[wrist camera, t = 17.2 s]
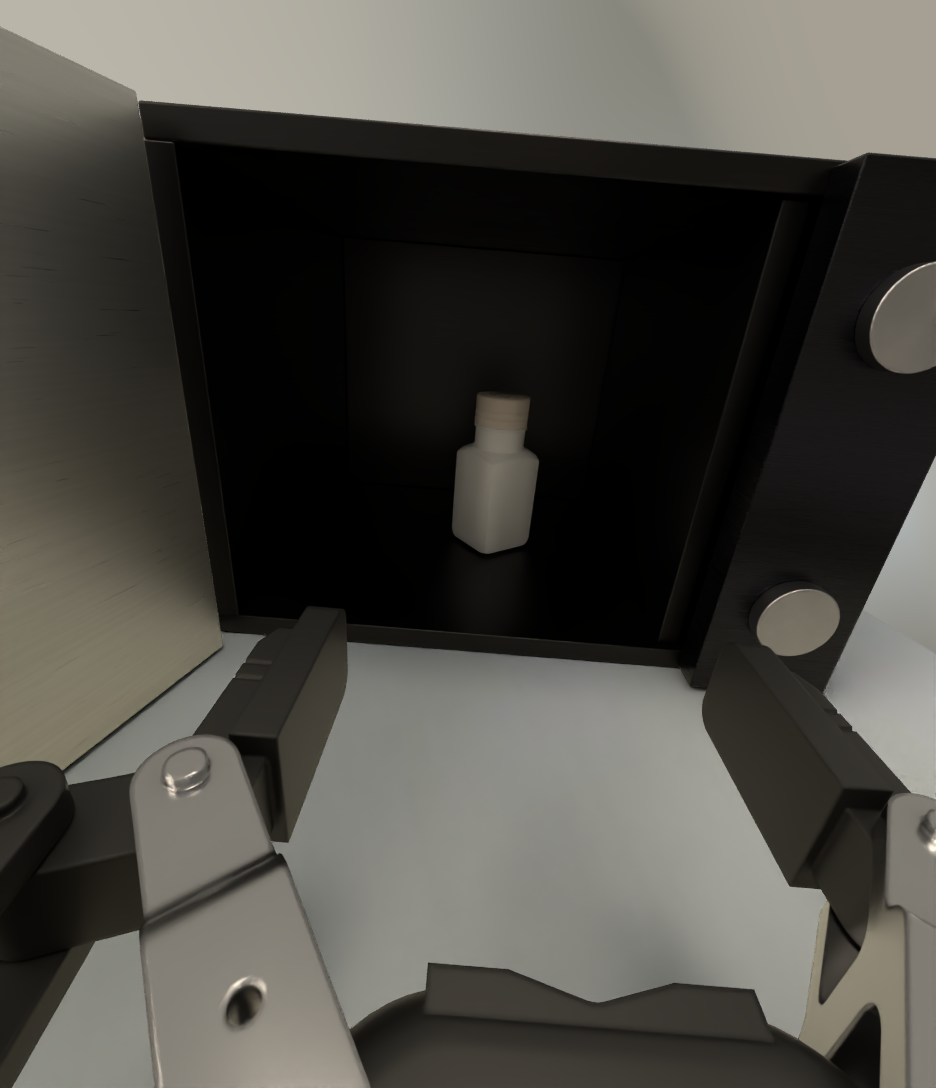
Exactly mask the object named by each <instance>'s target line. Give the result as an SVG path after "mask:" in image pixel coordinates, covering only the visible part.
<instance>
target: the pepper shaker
mask: <svg viewBox="0 0 936 1088" xmlns="http://www.w3.org/2000/svg"><path fill="white" fill-rule="evenodd" d="M529 405H530V397H528V396H526V395H523V394H517V393H511V392H501V391H483V392H479V393H478V394H477V400H476V407H477V408H476V412H475V414H476V416H475V426H476V432H475V442H474V443H471V444H468V445H465V446H463V447H462V448H460V449H459V450H458V451H457V458H456V473H455V488H454V502H453V517H452V531H453V534H454V535H455V536H456V537H457V538H459V539H460V540H462V541H463V542H465V543H466V544H468V545H469V546H471V547H472V548H474V549H476V550H477V551H479V552H480V553H485V554H490V553H494V552H498V551H502V550H506V549H510V548H514V547H518V546H522V545H524V544H525V543H526V542H527V540H528V537H529V530H530V523H531V516H532V509H533V501H534V494H535V487H536V480H537V473H538V466H539V460H538V458H537V456H536V455H535V454H534V453H532V452H531V451H529V450H528V449H526V448H524V438H525V431H526V430H527V421H528V413H529V412H528V411H529Z"/></svg>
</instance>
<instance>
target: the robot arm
mask: <svg viewBox="0 0 936 1088" xmlns="http://www.w3.org/2000/svg"><path fill="white" fill-rule="evenodd" d="M347 672H348V663H347V627H346V613H345V610H344V609H338V608H326V607H315V606H308V607H307V608H306V609H305V610H304V612H303V613H302V615H301V617H300V618H299V620H298V621H297V623H296V625H295V626H294V628H293V629H289V628H278V629H276V630H275V631H273V632H272V633H270V634H269V635H267V636H266V637H265V638H263V639H262V640H260V641H259V642H258V643H257V644H256V646H255V647H254V649H253V650H252V652H251V653H250V654H249V656H248V657H247V659H246V663H243V664H242V666H241V667H240V669H239V670H238V672H237V673H236V676H235V678H233V679H232V680H231V681H230V683H229V684H228V686H227V687H226V689H225V690H224V691H223V693H222V694H221V696H220V697H219V699H218V700H217V701H216V703H215V704H214V706H213V707H212V709H211V710H210V711H209V713H208V714H207V716H206V717H205V719H204V720H203V721H202V723H201V724H200V726H199V727H198V729H197V730H196V731H195V733H194V734H193V736H190V737H186V738H183V739H179V740H177V741H174V742H172V743H170V744H168V745H166V746H164V747H162V748H161V749H159V750H158V751H156V752H155V753H153V754H152V755H151V756H150V757H148V758H147V759H146V760H145V761H144V762H143V763H142V764H141V765H140V767H139V768H138V769H137V771H136V772H135V773H131V774H127V775H122V776H116V777H111V778H105V779H100V780H94V781H88V782H83V783H77V784H72V785H68V784H67V781H66V778H65V776H64V773H63V771H62V770H61V769H60V767H58V766H57V765H55V764H53V763H50V762H47V761H25V762H18V763H14V764H10V765H6V766H3V767H0V1088H12V1087H13V1085H14V1083H15V1081H16V1080H17V1078H18V1076H19V1074H20V1073H21V1071H22V1069H23V1067H24V1066H25V1064H26V1062H27V1060H28V1059H29V1057H30V1055H31V1053H32V1052H33V1050H34V1048H35V1046H36V1045H37V1043H38V1041H39V1039H40V1037H41V1036H42V1034H43V1032H44V1030H45V1029H46V1027H47V1025H48V1023H49V1022H50V1020H51V1018H52V1016H53V1015H54V1013H55V1011H56V1009H57V1008H58V1006H59V1004H60V1002H61V1001H62V999H63V997H64V995H65V994H66V992H67V990H68V988H69V987H70V985H71V983H72V981H73V980H74V978H75V976H76V974H77V973H78V971H79V969H80V967H81V966H82V964H83V962H84V960H85V959H86V957H87V955H88V953H89V952H90V950H91V948H92V946H93V945H94V943H95V941H99V940H103V939H107V938H110V937H114V936H118V935H122V934H125V933H129V932H133V931H137V930H139V939H140V952H141V962H142V972H143V981H144V991H145V1000H146V1010H147V1019H148V1029H149V1038H150V1048H151V1057H152V1067H153V1076H154V1086H155V1088H936V800H935V799H933V798H930V797H927V796H923V795H919V794H913V793H911V792H910V791H909V790H908V789H907V788H906V787H905V786H904V785H903V783H902V782H901V781H900V780H899V779H898V778H897V777H896V776H895V774H894V773H893V772H892V771H891V770H890V769H889V768H888V767H887V766H886V764H885V763H884V762H883V761H882V760H881V759H880V758H879V757H878V755H877V754H876V753H875V752H874V751H873V750H872V749H871V748H870V746H869V745H868V744H867V743H866V742H865V741H864V740H863V739H862V738H861V736H860V735H859V734H858V733H857V732H855V731H852V726H851V725H850V724H849V723H848V722H847V721H846V720H845V719H844V717H843V716H842V715H841V714H837V710H836V708H835V707H834V706H833V705H832V704H831V703H830V702H829V701H828V700H827V698H826V697H825V696H824V695H823V694H822V693H821V692H820V691H819V690H818V689H817V688H815V687H814V686H813V685H811V684H810V683H808V682H807V681H806V680H804V679H803V678H801V677H800V676H799V675H797V674H796V673H794V672H791V671H790V670H789V669H788V668H787V667H786V665H785V664H784V663H783V662H782V661H781V660H780V658H779V657H778V656H777V655H776V654H775V653H774V651H773V650H772V649H771V648H769V647H768V646H765V645H754V644H742V643H726V644H725V645H724V646H723V647H722V649H721V651H720V653H719V656H718V659H717V662H716V665H715V667H714V670H713V673H712V676H711V679H710V682H709V685H708V687H707V690H706V693H705V696H704V699H703V704H702V717H703V722H704V726H705V728H706V731H707V733H708V735H709V736H710V738H711V740H712V742H713V744H714V746H715V748H716V750H717V751H718V753H719V755H720V757H721V759H722V761H723V763H724V764H725V766H726V768H727V770H728V772H729V774H730V776H731V778H732V779H733V781H734V783H735V785H736V787H737V789H738V791H739V793H740V794H741V796H742V798H743V800H744V802H745V804H746V806H747V808H748V809H749V811H750V813H751V815H752V817H753V819H754V821H755V823H756V824H757V826H758V828H759V830H760V832H761V834H762V836H763V838H764V839H765V841H766V843H767V845H768V847H769V849H770V851H771V853H772V854H773V856H774V858H775V860H776V862H777V864H778V866H779V868H780V869H781V871H782V873H783V875H784V877H785V879H786V881H787V883H788V884H789V886H790V887H801V888H813V889H821V890H822V892H823V894H824V895H825V897H826V899H827V902H826V903H825V905H824V907H823V908H822V910H821V913H820V917H819V924H818V931H817V938H816V945H815V952H814V959H813V966H812V973H811V980H810V987H809V994H808V1001H807V1008H806V1014H805V1018H804V1022H803V1026H802V1029H801V1032H800V1035H799V1037H798V1039H797V1038H795V1037H793V1036H791V1035H790V1034H788V1033H786V1032H784V1031H782V1030H780V1029H778V1028H776V1027H774V1026H772V1025H770V1024H768V1023H767V1021H766V1018H765V1016H764V1013H763V1011H762V1008H761V1006H760V1003H759V1001H758V998H757V996H756V993H755V991H754V990H753V989H740V988H728V987H716V986H704V985H692V984H680V983H672V984H669V985H665V986H661V987H658V988H654V989H650V990H646V991H643V992H639V993H635V994H631V995H628V996H624V997H620V998H617V999H613V1000H609V1001H605V1002H600V1003H596V1002H590V1001H587V1000H584V999H582V998H579V997H577V996H574V995H571V994H569V993H566V992H564V991H561V990H559V989H556V988H554V987H551V986H549V985H546V984H544V983H541V982H539V981H536V980H534V979H531V978H529V977H526V976H524V975H521V974H519V973H516V972H514V971H511V970H509V969H498V968H486V967H474V966H461V965H449V964H437V963H428V970H427V981H426V990H424V991H421V992H417V993H413V994H409V995H406V996H404V997H402V998H399V999H397V1000H395V1001H392V1002H390V1003H388V1004H386V1005H384V1006H383V1007H381V1008H379V1009H378V1010H376V1011H374V1012H373V1013H371V1014H369V1015H368V1016H367V1017H365V1018H364V1019H363V1020H362V1021H360V1022H359V1023H358V1024H357V1025H355V1026H354V1027H353V1028H351V1029H350V1030H349V1028H348V1025H347V1022H346V1020H345V1017H344V1014H343V1012H342V1009H341V1006H340V1004H339V1001H338V998H337V996H336V993H335V990H334V988H333V985H332V982H331V980H330V977H329V974H328V972H327V969H326V966H325V964H324V961H323V958H322V956H321V953H320V950H319V947H318V945H317V942H316V939H315V937H314V934H313V931H312V929H311V926H310V923H309V921H308V918H307V915H306V913H305V910H304V907H303V905H302V902H301V899H300V897H299V894H298V891H297V889H296V886H295V883H294V881H293V878H292V875H291V873H290V870H289V868H288V865H287V863H286V861H285V859H284V857H283V855H282V854H281V853H279V854H276V852H275V850H274V848H273V845H272V842H271V841H274V842H286V843H289V840H290V837H291V835H292V832H293V830H294V827H295V824H296V822H297V819H298V816H299V814H300V811H301V808H302V806H303V803H304V800H305V798H306V795H307V792H308V790H309V787H310V784H311V782H312V779H313V776H314V774H315V771H316V768H317V766H318V763H319V760H320V758H321V755H322V752H323V750H324V747H325V744H326V742H327V739H328V736H329V734H330V731H331V728H332V726H333V723H334V720H335V718H336V715H337V712H338V710H339V707H340V704H341V702H342V699H343V696H344V692H345V688H346V682H347Z"/></svg>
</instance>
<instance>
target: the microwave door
mask: <svg viewBox="0 0 936 1088" xmlns="http://www.w3.org/2000/svg"><path fill="white" fill-rule="evenodd" d="M222 646H223V643H222V637H221V631H220V624H219V618H218V612H217V605H216V599H215V592H214V586H213V580H212V573H211V567H210V561H209V554H208V548H207V542H206V535H205V529H204V522H203V516H202V510H201V503H200V497H199V491H198V484H197V478H196V471H195V465H194V459H193V452H192V446H191V440H190V433H189V427H188V421H187V414H186V408H185V401H184V395H183V389H182V382H181V376H180V370H179V363H178V357H177V350H176V344H175V338H174V331H173V325H172V319H171V312H170V306H169V300H168V293H167V287H166V280H165V274H164V268H163V261H162V255H161V249H160V242H159V236H158V230H157V223H156V217H155V210H154V204H153V198H152V191H151V185H150V179H149V172H148V166H147V159H146V153H145V147H144V140H143V134H142V128H141V121H140V115H139V109H138V103H137V97H136V92H135V91H134V90H132V89H130V88H128V87H125V86H123V85H121V84H119V83H117V82H115V81H113V80H111V79H109V78H107V77H105V76H102V75H100V74H98V73H96V72H94V71H92V70H90V69H88V68H86V67H84V66H82V65H79V64H77V63H75V62H73V61H71V60H69V59H67V58H65V57H63V56H61V55H59V54H56V53H54V52H52V51H50V50H48V49H46V48H44V47H41V46H40V45H38V44H35V43H34V42H31V41H29V40H27V39H25V38H23V37H21V36H19V35H17V34H15V33H13V32H10V31H8V30H6V29H4V28H2V27H0V767H3V766H6V765H10V764H14V763H18V762H25V761H47V762H50V763H53V764H55V765H57V766H58V767H60V769H61V770H64V769H65V768H66V767H67V766H69V765H70V764H71V763H73V762H74V761H75V760H76V759H78V758H79V757H80V756H82V755H83V754H84V753H85V752H87V751H88V750H89V749H91V748H92V747H93V746H94V745H96V744H97V743H98V742H100V741H101V740H102V739H103V738H105V737H106V736H107V735H109V734H110V733H111V732H112V731H114V730H115V729H116V728H118V727H119V726H120V725H121V724H123V723H124V722H125V721H127V720H128V719H129V718H130V717H132V716H133V715H134V714H136V713H137V712H138V711H139V710H141V709H142V708H143V707H145V706H146V705H147V704H148V703H150V702H151V701H152V700H154V699H155V698H156V697H157V696H159V695H160V694H161V693H163V692H164V691H165V690H166V689H168V688H169V687H170V686H172V685H173V684H174V683H175V682H177V681H178V680H179V679H181V678H182V677H183V676H184V675H186V674H187V673H188V672H190V671H191V670H192V669H193V668H195V667H196V666H197V665H199V664H200V663H201V662H202V661H204V660H205V659H206V658H208V657H209V656H210V655H211V654H213V653H214V652H215V651H217V650H218V649H219V648H220V647H222Z"/></svg>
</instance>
